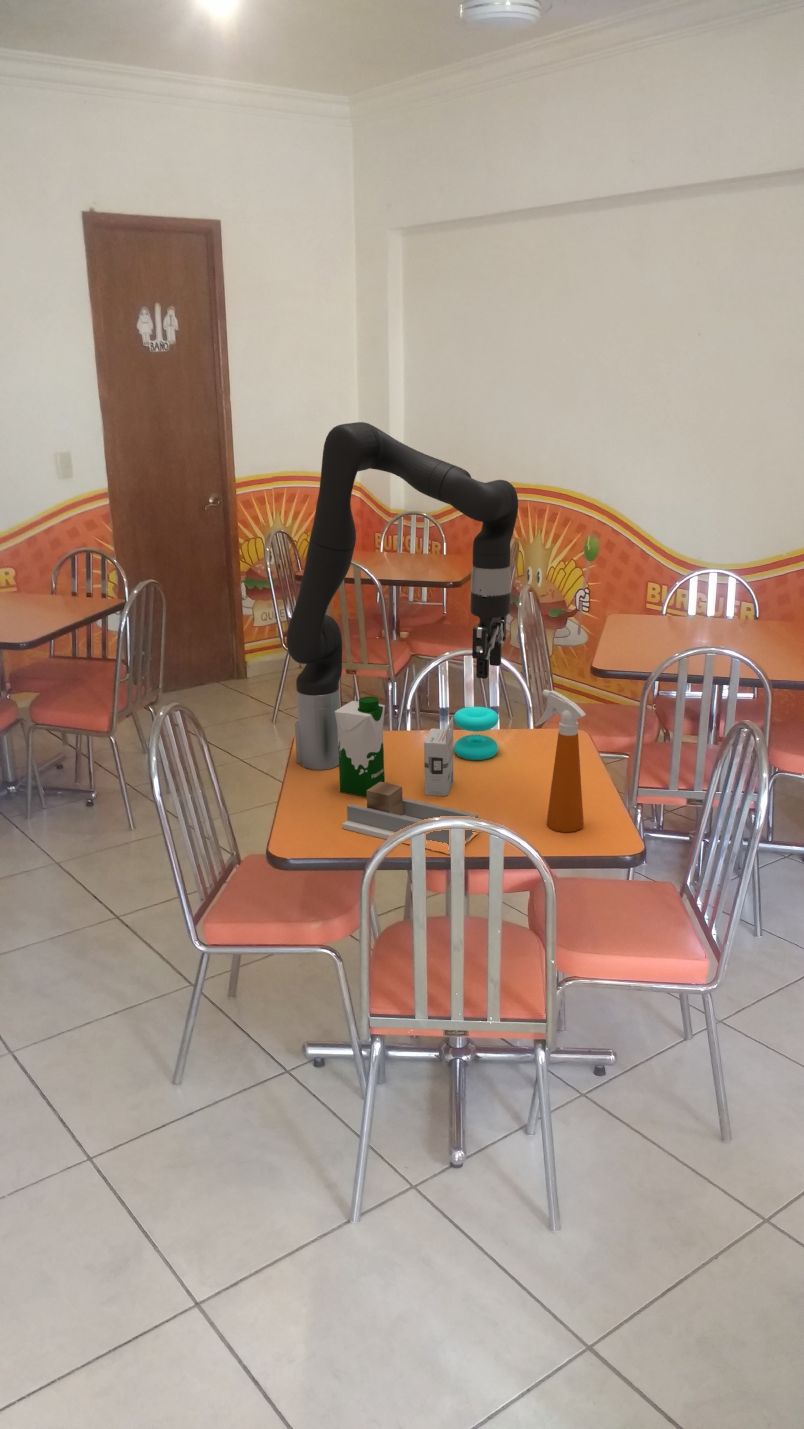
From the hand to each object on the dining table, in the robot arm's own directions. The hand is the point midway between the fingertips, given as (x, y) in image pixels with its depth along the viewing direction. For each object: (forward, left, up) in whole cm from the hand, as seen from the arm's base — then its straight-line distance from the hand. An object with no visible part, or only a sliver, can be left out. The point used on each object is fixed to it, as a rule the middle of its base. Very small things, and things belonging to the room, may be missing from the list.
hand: (488, 671), depth 201 cm
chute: (-7, -18, -28) cm, 34 cm away
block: (-13, -18, -26) cm, 35 cm away
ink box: (-12, +2, -28) cm, 30 cm away
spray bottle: (+16, -2, -28) cm, 32 cm away
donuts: (-14, +23, -28) cm, 39 cm away
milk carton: (-26, -6, -28) cm, 39 cm away
